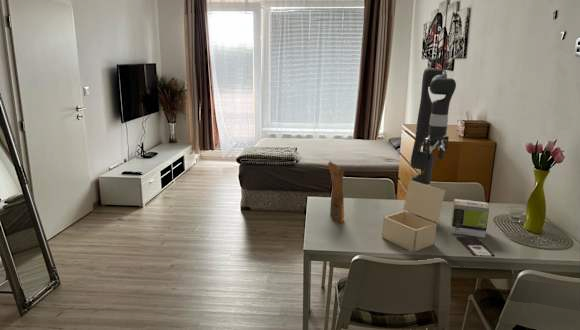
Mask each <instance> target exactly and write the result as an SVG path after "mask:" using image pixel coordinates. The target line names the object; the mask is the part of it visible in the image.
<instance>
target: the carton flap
mask: <svg viewBox="0 0 580 330" xmlns="http://www.w3.org/2000/svg"><path fill="white" fill-rule="evenodd" d="M407 186H408V187H407V191H406V195H405V199H404V204H403V209H402V210H403V211H405V212H407V213H409V212H411V213H413V214H416V215H419V216H418V217H420V218H423V219H426V220H428V221H431V222H434V223H439V219H440V216H441V211H442V207H443V206H442V205H443V201H444V197H445V194H446V190H445V189H442V188H438V187H435V186H431V185H430V186H429V185H425V184H422V183H419V182H416V181H412V179H409V182H408V185H407Z"/></svg>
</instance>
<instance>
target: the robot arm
mask: <svg viewBox="0 0 580 330" xmlns="http://www.w3.org/2000/svg"><path fill="white" fill-rule="evenodd" d="M423 70H424V71H423V74H422V81H421V93H420V101H419V107H418V108H419V109H418V114H417V121H416V128H415V137H414V143H413V148H412V152H411V156H410V167H411V168H412V169H415V170H421V171H423V173H421V174H420V173H418V174H414V175H413V176H412V178H411V180H412V181H416V182H419V183H422V184H425V185H429V186H431V182H432V181H431V180H432V175H433V174H432V173H433V167H434V162H435V156H434V154H433V153H432V152H433V151H434V150H435V149H436V148H438V152H437V153H438V154H437V159H439V160H443V158H444V153H445V151H446V150H448V148H449V138H450V137H449V136H448V135H447V129H448V121H449V109H450V103H451V100H452V97H453V95H454V93H455V91H456V87H457V83H456V80H455V79H454V78H449V77H448V74H447V71H446V70H445V69H442V68H437V67H436V68H433V67H426V68H424V69H423ZM429 91H430V92H429ZM430 93H431V94H433V95H443V96H444V95H445V96H444V97H443V98H441V99H435V100H431V97H430ZM428 137H429V138H428ZM408 213H410V214H413V213H411V212H408ZM413 215H415V216H418V217H420V216H419V215H416V214H413Z"/></svg>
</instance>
